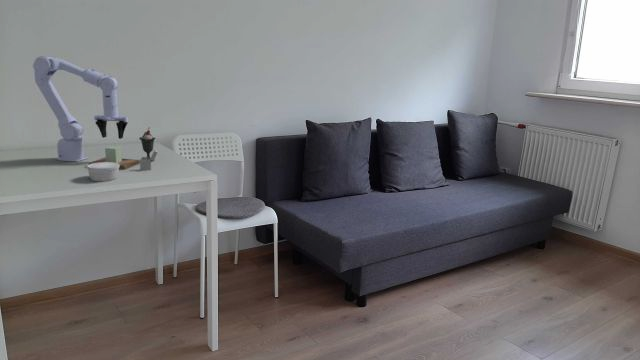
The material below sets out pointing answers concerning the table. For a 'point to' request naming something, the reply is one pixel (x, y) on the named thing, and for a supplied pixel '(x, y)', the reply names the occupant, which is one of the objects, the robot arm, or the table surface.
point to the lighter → (147, 161)
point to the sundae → (147, 143)
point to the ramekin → (103, 171)
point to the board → (123, 164)
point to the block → (113, 154)
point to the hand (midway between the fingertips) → (112, 137)
